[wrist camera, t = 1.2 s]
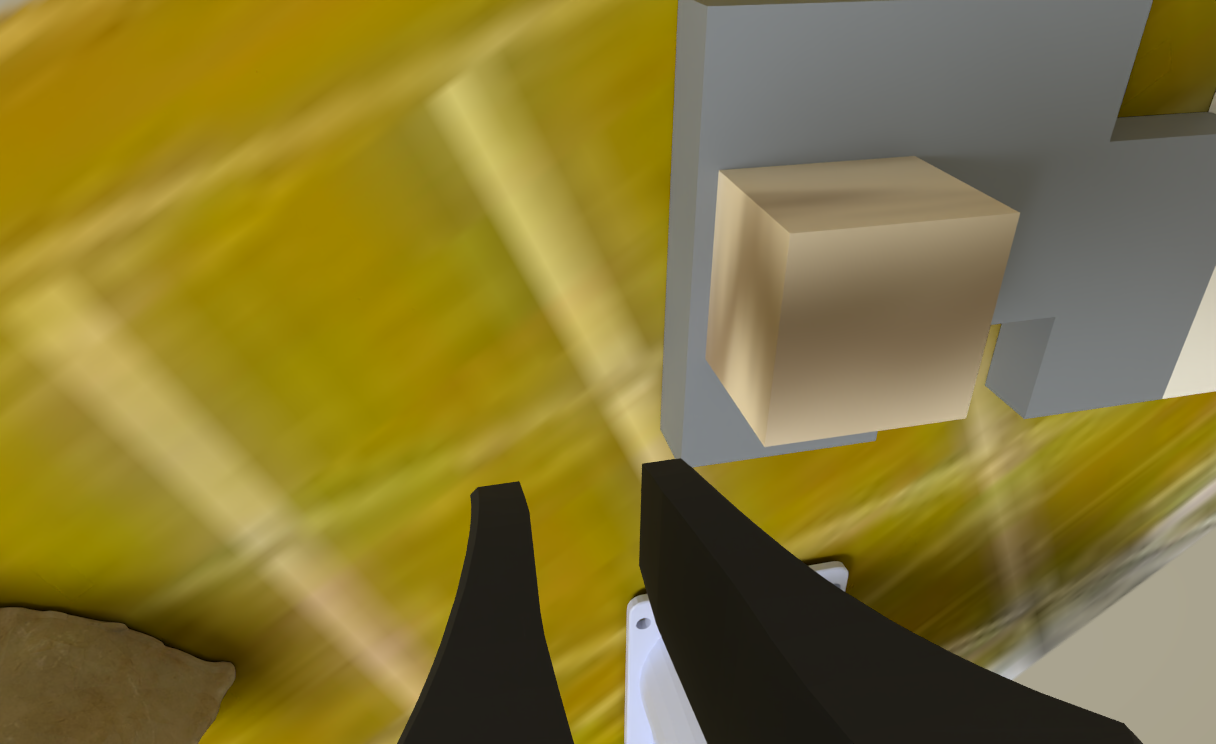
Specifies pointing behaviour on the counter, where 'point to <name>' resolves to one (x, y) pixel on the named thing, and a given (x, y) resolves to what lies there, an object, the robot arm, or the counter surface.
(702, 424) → the plate
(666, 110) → the counter surface
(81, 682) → the rock
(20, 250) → the counter surface
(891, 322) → the maple block
